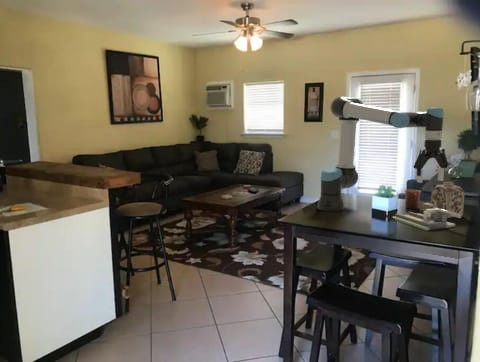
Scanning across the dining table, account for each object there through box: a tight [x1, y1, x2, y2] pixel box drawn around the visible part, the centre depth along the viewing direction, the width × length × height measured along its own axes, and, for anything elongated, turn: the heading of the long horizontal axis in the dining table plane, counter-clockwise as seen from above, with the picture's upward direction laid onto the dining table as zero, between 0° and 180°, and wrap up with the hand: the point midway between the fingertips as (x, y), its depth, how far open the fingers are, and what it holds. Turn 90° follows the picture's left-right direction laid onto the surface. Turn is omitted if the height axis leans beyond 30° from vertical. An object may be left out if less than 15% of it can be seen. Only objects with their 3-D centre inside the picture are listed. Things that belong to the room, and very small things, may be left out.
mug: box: [404, 188, 422, 210], centre depth 224 cm, size 12×9×10 cm
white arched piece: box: [421, 202, 463, 222], centre depth 189 cm, size 21×10×7 cm, turn 20°
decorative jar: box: [430, 181, 465, 219], centre depth 208 cm, size 12×12×18 cm
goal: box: [420, 218, 447, 231], centre depth 186 cm, size 6×10×3 cm, turn 110°
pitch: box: [391, 211, 456, 231], centre depth 195 cm, size 23×18×3 cm
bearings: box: [430, 212, 448, 222], centre depth 192 cm, size 7×3×6 cm, turn 20°
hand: (430, 181), depth 195 cm, fingers open, 13 cm apart
